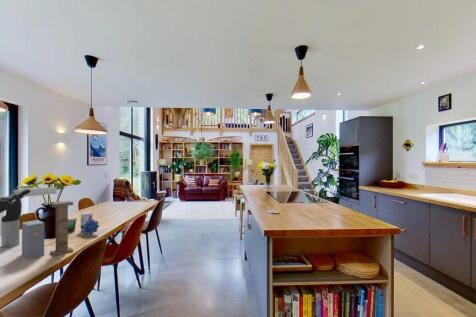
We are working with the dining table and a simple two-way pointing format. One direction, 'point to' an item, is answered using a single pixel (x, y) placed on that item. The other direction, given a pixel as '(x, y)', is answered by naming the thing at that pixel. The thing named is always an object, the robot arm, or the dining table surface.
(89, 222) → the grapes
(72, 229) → the food container
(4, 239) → the robot arm
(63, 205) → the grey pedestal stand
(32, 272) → the dining table surface
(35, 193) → the steel spout bar
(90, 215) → the supplement can
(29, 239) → the block
